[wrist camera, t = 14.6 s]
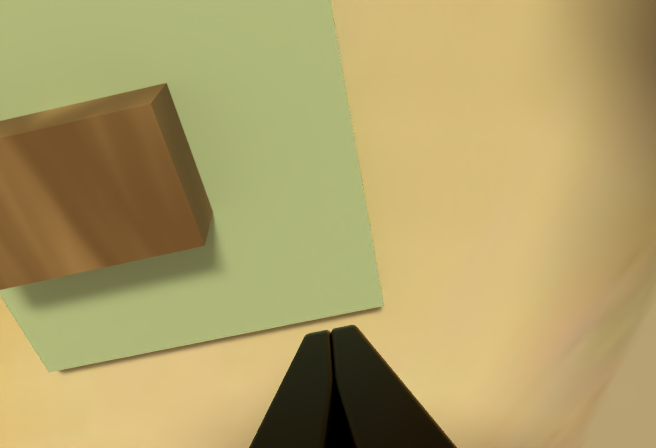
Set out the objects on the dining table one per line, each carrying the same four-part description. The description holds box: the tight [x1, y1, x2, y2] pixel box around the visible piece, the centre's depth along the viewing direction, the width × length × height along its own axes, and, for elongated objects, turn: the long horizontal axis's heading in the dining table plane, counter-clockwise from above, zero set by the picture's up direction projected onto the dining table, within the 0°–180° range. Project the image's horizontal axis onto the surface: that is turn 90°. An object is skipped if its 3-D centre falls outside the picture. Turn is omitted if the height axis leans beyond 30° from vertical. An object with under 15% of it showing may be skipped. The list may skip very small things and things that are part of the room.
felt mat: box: [0, 0, 384, 372], centre depth 19 cm, size 15×17×1 cm
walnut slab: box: [0, 83, 213, 290], centre depth 18 cm, size 2×5×8 cm
